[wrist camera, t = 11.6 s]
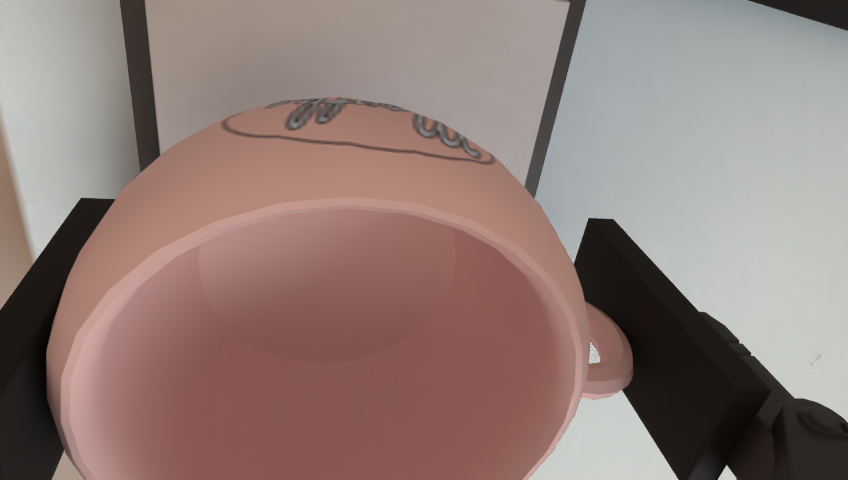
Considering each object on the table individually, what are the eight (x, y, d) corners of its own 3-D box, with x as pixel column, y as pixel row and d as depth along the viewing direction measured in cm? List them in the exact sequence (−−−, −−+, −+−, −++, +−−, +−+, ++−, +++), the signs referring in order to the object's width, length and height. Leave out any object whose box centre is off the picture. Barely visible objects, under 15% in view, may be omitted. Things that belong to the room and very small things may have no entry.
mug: (134, 380, 16) (59, 596, 11) (109, 16, 11) (-40, 116, 7) (522, 386, 19) (597, 560, 14) (632, 101, 14) (803, 213, 10)
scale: (560, -36, 20) (601, -23, 18) (483, 293, 28) (504, 339, 25) (134, -98, 17) (100, -95, 14) (173, 290, 25) (156, 343, 22)
